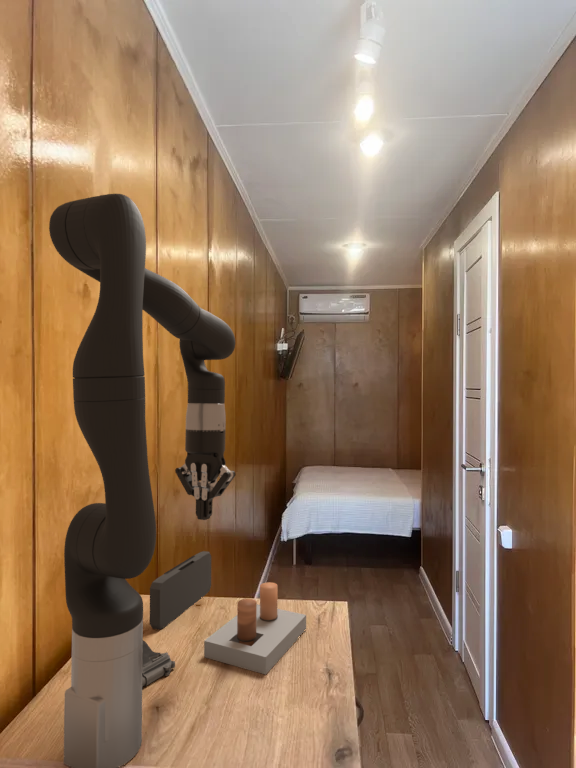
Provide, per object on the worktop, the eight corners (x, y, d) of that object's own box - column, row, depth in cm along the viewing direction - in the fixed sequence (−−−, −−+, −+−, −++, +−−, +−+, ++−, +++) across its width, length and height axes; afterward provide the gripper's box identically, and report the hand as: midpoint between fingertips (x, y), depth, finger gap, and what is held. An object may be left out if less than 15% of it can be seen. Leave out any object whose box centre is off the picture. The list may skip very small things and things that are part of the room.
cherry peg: (250, 660, 88) (250, 608, 88) (233, 655, 90) (233, 604, 90) (259, 651, 91) (260, 600, 92) (243, 646, 93) (243, 597, 93)
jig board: (265, 674, 84) (266, 619, 84) (204, 657, 89) (204, 605, 89) (306, 629, 100) (306, 583, 100) (252, 616, 105) (252, 573, 106)
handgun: (54, 679, 79) (97, 705, 72) (140, 636, 93) (183, 655, 86) (54, 695, 79) (97, 722, 72) (140, 649, 93) (183, 669, 86)
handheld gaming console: (202, 588, 121) (202, 549, 121) (211, 590, 120) (212, 550, 120) (147, 630, 99) (148, 582, 100) (159, 632, 98) (159, 583, 99)
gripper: (165, 427, 91) (163, 519, 90) (223, 429, 85) (221, 527, 84) (190, 425, 98) (188, 511, 97) (245, 427, 92) (244, 519, 91)
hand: (203, 518), depth 91 cm, fingers closed
